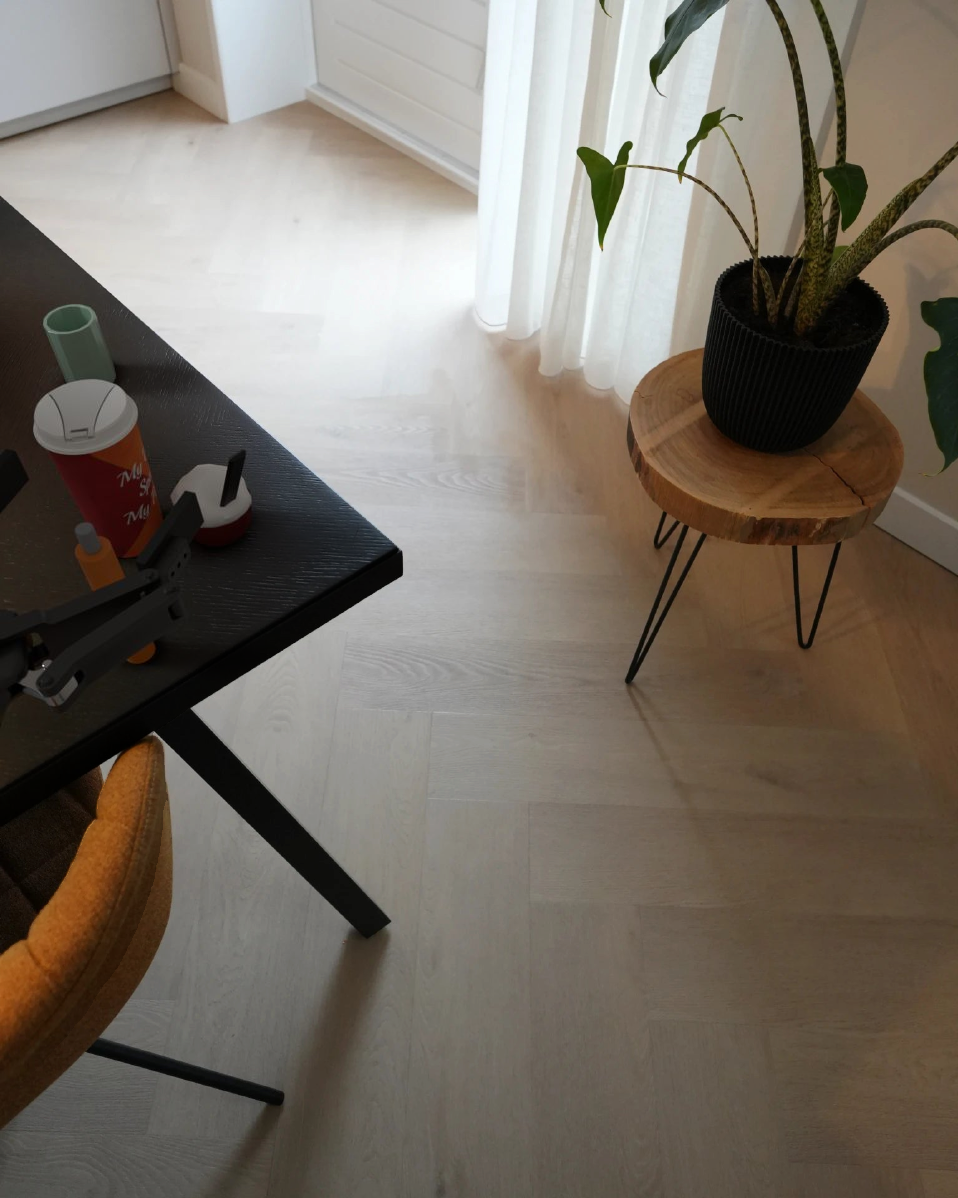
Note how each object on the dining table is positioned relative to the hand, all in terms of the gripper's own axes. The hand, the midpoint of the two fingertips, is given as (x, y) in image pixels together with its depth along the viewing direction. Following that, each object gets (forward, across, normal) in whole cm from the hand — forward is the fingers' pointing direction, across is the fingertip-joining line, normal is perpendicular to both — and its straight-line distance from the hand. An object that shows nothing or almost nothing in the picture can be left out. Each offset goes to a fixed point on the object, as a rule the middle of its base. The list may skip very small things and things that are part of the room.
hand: (105, 484), depth 66 cm
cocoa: (+10, +1, -15) cm, 18 cm away
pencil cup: (+25, -22, -15) cm, 36 cm away
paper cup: (+8, -7, -15) cm, 18 cm away
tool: (-3, 0, -15) cm, 15 cm away
